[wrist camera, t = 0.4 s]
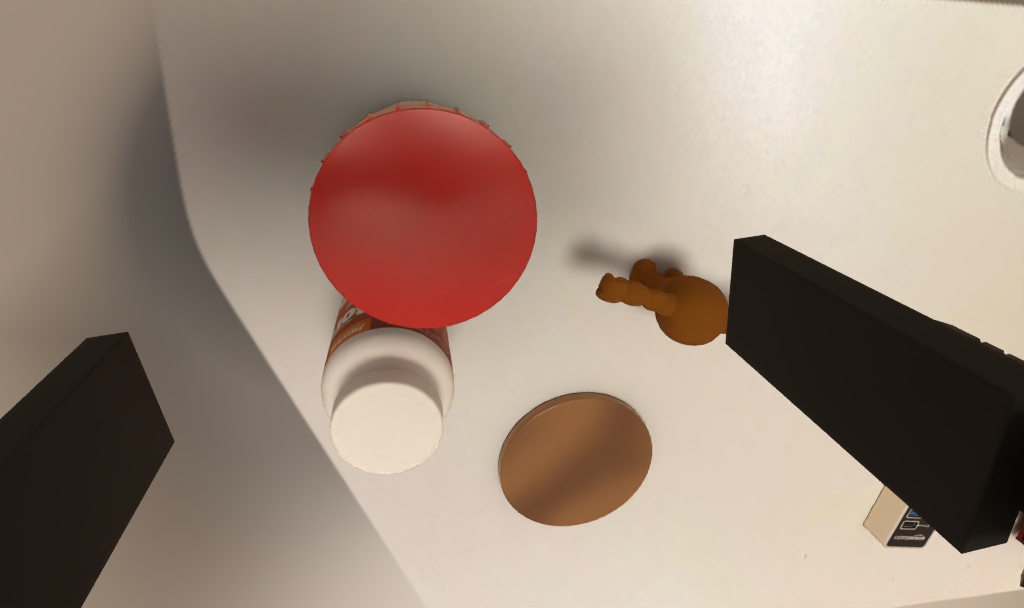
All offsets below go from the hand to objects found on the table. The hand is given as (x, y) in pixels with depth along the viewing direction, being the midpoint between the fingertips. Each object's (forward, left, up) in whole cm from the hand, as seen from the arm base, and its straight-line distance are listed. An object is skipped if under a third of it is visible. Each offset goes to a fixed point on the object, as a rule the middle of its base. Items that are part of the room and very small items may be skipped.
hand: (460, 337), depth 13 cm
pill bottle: (+2, -9, -20) cm, 22 cm away
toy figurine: (+16, 0, -20) cm, 25 cm away
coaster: (+18, -14, -20) cm, 30 cm away
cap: (0, 0, -9) cm, 9 cm away
